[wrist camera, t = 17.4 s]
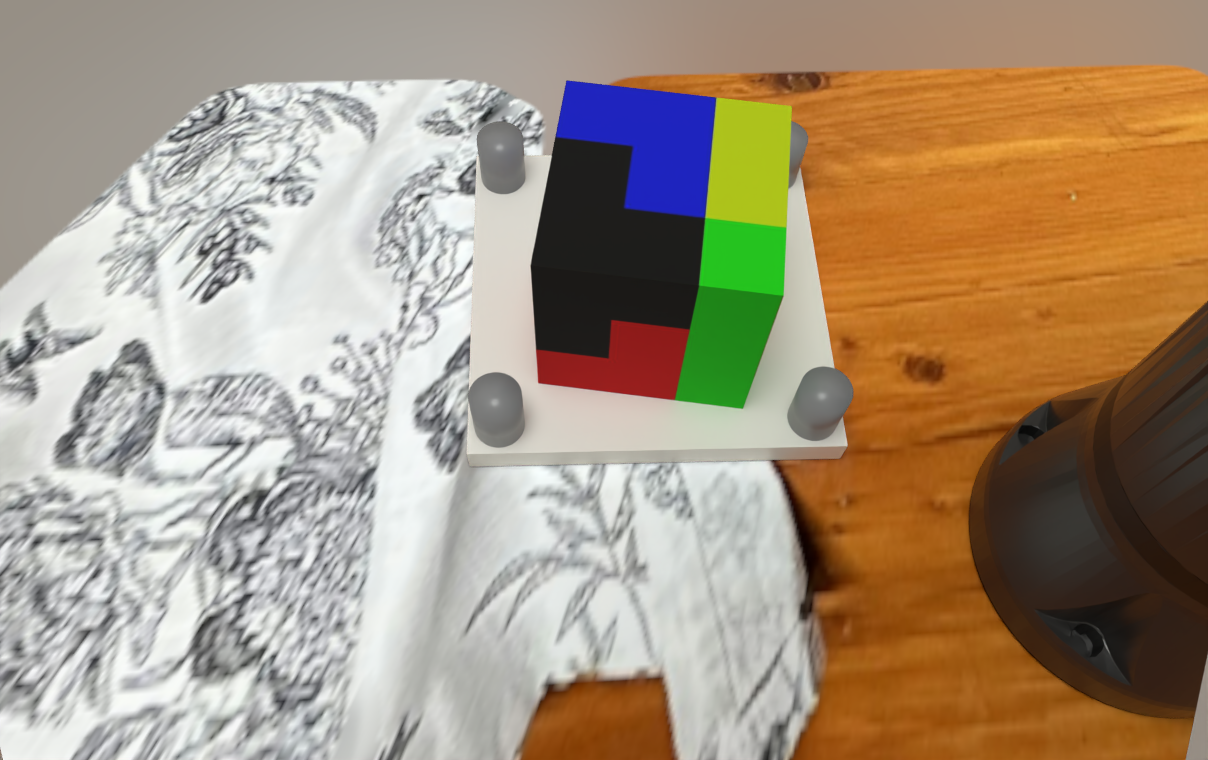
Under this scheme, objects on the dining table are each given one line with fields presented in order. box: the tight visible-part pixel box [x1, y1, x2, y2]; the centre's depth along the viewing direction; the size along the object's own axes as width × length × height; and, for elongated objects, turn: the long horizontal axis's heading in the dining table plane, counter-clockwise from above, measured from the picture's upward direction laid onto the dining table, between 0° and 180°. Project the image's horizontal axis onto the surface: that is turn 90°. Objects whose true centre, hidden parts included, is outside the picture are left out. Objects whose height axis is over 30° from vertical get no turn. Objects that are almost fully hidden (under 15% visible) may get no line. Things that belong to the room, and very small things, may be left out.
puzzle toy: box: [530, 81, 792, 409], centre depth 44 cm, size 10×10×10 cm
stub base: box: [467, 121, 853, 467], centre depth 49 cm, size 18×18×4 cm
